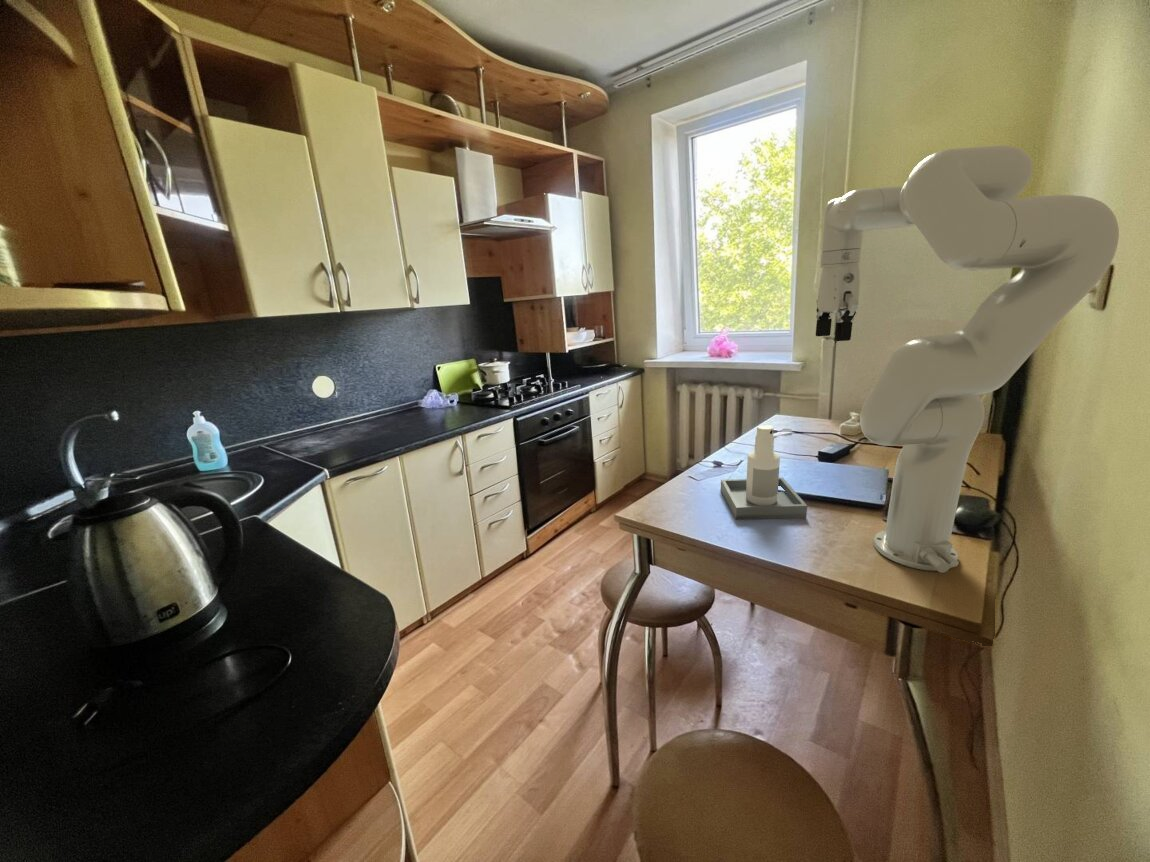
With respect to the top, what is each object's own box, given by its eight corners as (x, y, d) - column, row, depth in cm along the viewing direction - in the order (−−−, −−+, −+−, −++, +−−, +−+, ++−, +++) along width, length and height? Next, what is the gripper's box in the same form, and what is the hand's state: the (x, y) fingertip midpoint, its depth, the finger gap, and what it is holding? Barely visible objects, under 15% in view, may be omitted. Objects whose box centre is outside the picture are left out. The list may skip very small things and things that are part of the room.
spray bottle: (764, 509, 101) (768, 433, 96) (739, 498, 107) (742, 426, 102) (783, 500, 105) (788, 426, 99) (758, 490, 110) (762, 420, 105)
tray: (806, 518, 98) (807, 505, 97) (735, 519, 100) (736, 507, 99) (781, 488, 113) (782, 477, 112) (720, 490, 114) (721, 479, 113)
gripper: (880, 255, 90) (869, 341, 95) (839, 260, 107) (831, 333, 112) (840, 258, 91) (832, 343, 96) (806, 262, 107) (800, 335, 112)
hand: (832, 338), depth 104 cm, fingers open, 9 cm apart
